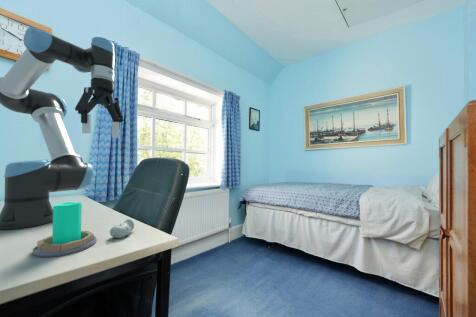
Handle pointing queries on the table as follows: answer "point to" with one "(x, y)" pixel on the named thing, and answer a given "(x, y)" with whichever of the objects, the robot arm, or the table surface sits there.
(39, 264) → the table surface
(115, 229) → the grey curved figurine
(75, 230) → the candle
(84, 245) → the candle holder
